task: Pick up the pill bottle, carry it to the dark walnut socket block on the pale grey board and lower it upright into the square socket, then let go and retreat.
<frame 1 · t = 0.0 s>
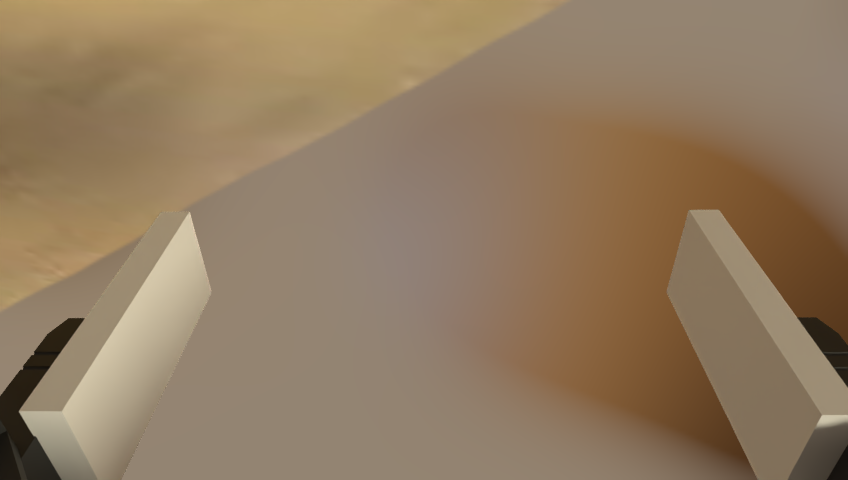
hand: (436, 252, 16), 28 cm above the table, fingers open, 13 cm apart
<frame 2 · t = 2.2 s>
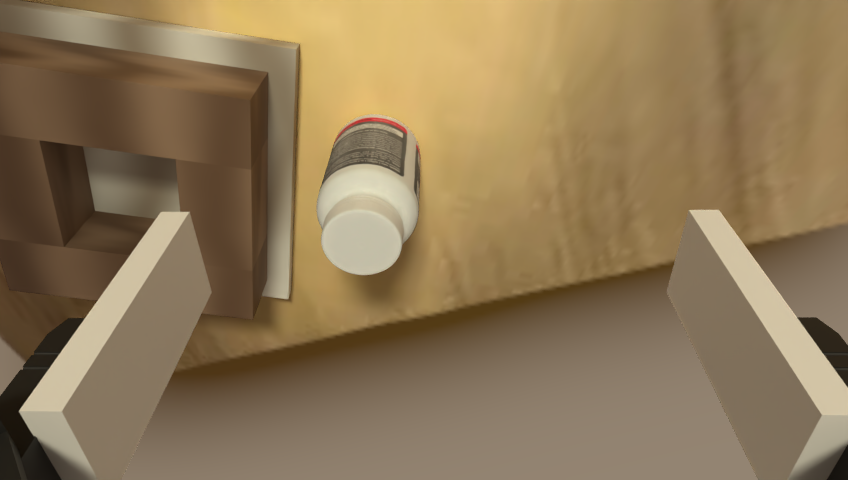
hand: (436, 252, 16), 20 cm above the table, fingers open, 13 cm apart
socket block: (150, 163, 38), on the table
pill bottle: (377, 151, 38), on the table
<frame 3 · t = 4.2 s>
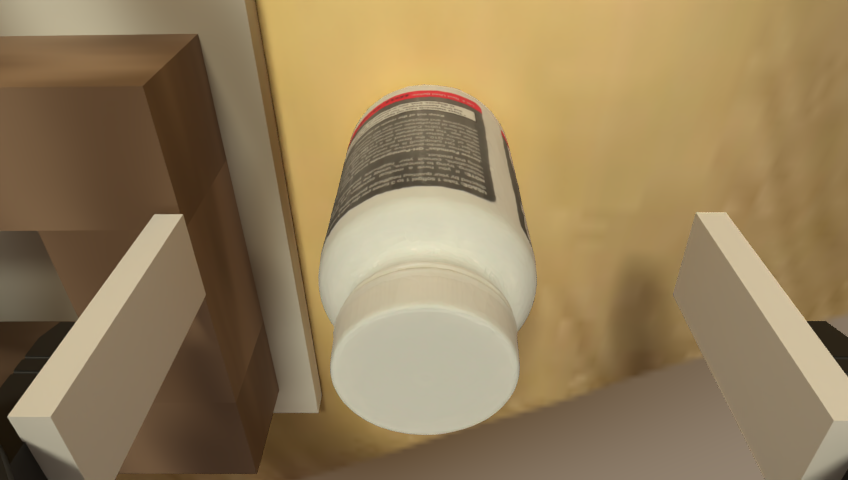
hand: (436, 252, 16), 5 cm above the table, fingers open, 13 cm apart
socket block: (52, 233, 22), on the table
pill bottle: (429, 154, 21), on the table
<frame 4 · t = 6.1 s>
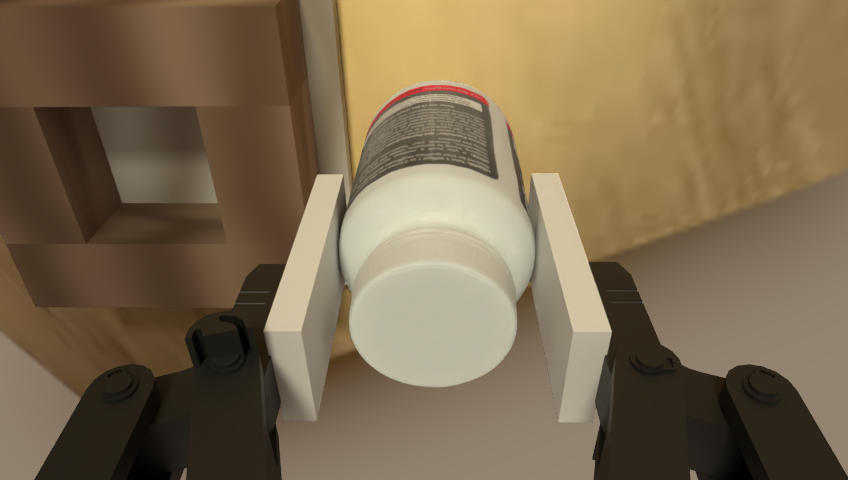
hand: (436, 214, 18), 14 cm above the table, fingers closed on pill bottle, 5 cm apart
socket block: (177, 135, 32), on the table
pill bottle: (440, 145, 22), point 9 cm above the table, touching gripper
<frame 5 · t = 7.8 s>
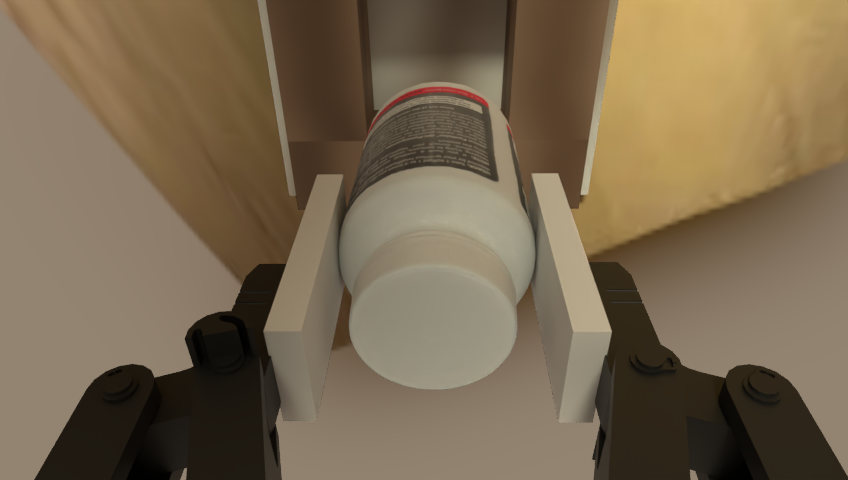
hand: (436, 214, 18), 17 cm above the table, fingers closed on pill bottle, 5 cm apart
socket block: (437, 39, 32), on the table
pill bottle: (440, 147, 22), point 12 cm above the table, touching gripper
when the fingers open (6 cm above the table, at t = 10.1 s): pill bottle stays where it is, resting on socket block.
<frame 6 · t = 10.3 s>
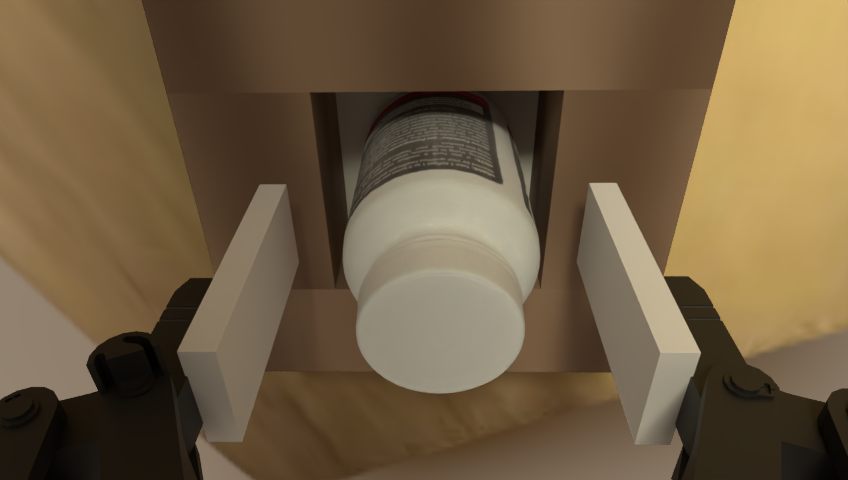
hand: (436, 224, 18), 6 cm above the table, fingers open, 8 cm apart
socket block: (437, 132, 23), on the table
pill bottle: (440, 147, 22), point 1 cm above the table, touching socket block
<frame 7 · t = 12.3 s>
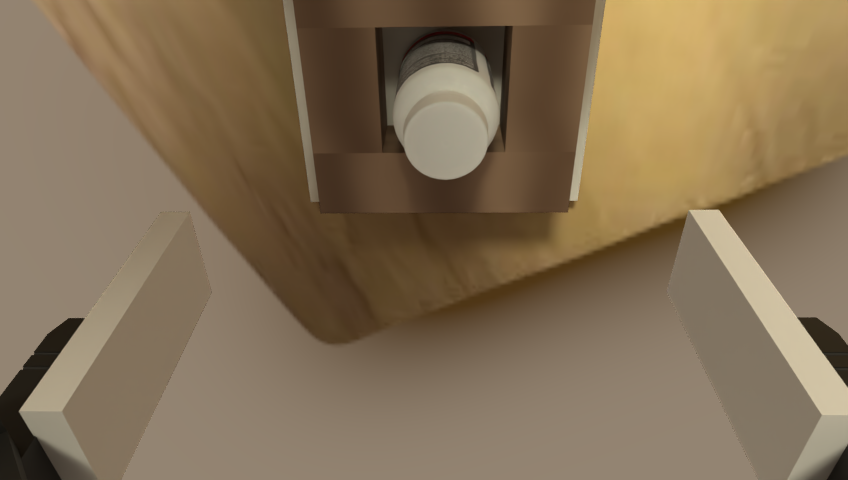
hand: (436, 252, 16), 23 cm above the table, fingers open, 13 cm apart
socket block: (443, 64, 37), on the table
pill bottle: (445, 72, 36), point 1 cm above the table, touching socket block
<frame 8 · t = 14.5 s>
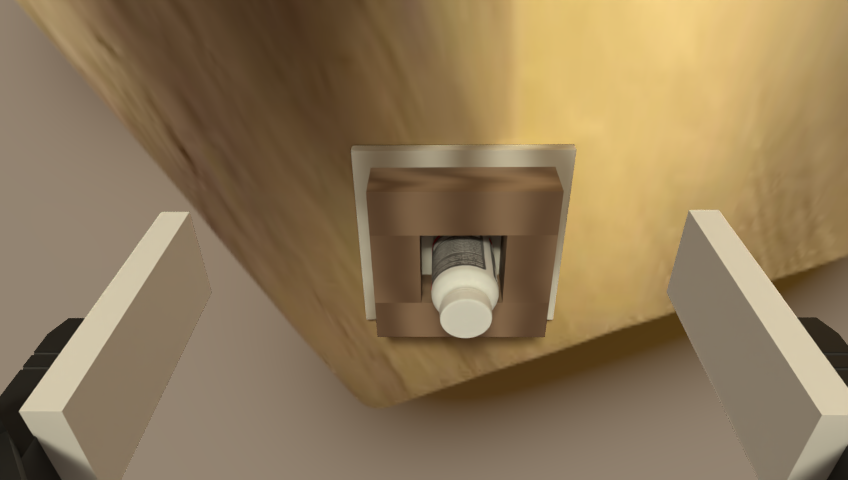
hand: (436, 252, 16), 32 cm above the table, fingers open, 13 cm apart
socket block: (460, 236, 54), on the table
pill bottle: (462, 243, 54), point 1 cm above the table, touching socket block
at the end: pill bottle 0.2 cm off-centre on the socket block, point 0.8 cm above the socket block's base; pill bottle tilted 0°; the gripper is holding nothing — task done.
